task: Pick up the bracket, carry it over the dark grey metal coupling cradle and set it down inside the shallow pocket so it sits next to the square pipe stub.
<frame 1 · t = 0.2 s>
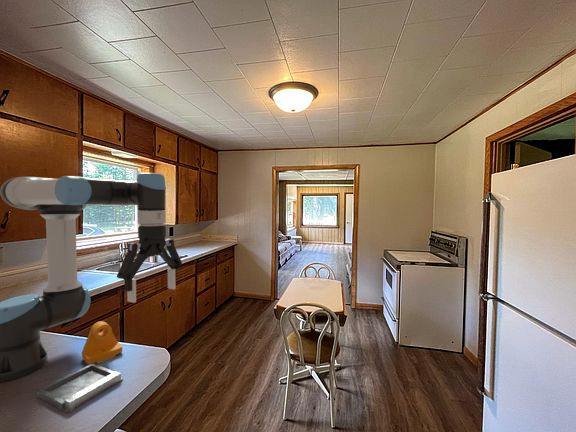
hand: (153, 294, 83), 28 cm above the table, fingers open, 13 cm apart
bracket: (103, 357, 99), on the table
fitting: (80, 387, 82), on the table
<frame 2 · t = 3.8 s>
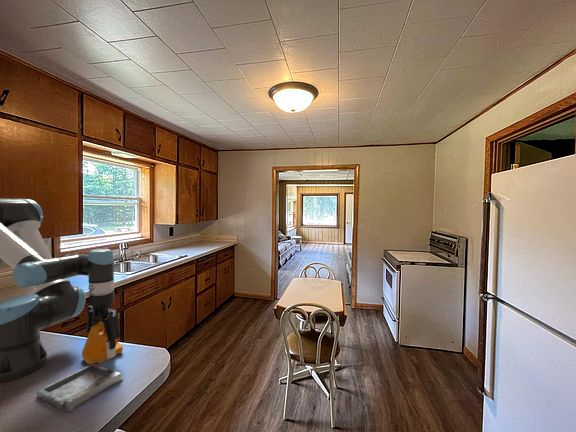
hand: (103, 354, 99), 1 cm above the table, fingers closed on bracket, 8 cm apart
bracket: (103, 357, 99), on the table, touching gripper
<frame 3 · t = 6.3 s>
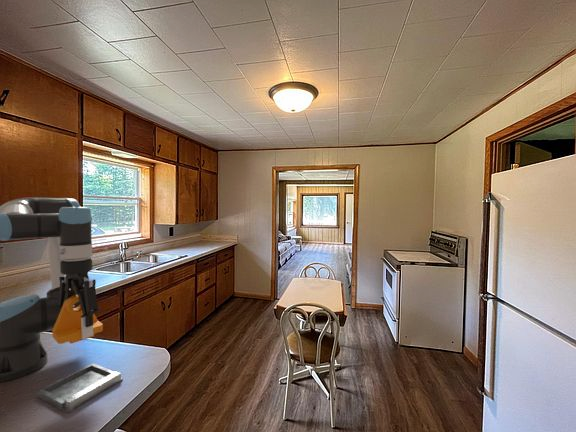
hand: (78, 333, 82), 16 cm above the table, fingers closed on bracket, 8 cm apart
bracket: (78, 337, 82), point 15 cm above the table, touching gripper
when the fingers open (4 cm above the table, at t = 9.0 s): bracket drops 2 cm, resting on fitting.
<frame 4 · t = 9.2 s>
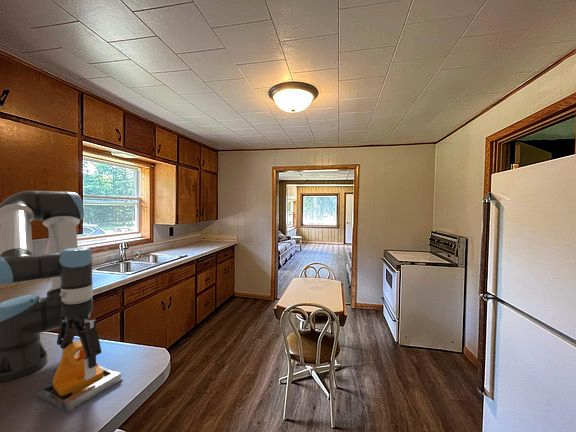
hand: (79, 372, 82), 4 cm above the table, fingers open, 10 cm apart
bracket: (79, 384, 82), point 1 cm above the table, touching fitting
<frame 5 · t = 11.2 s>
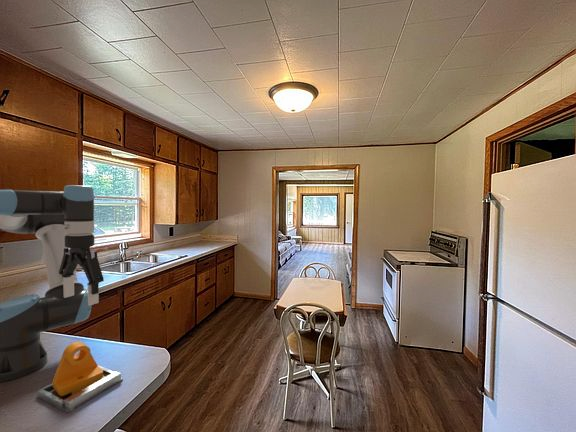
hand: (80, 300, 87), 24 cm above the table, fingers open, 13 cm apart
nothing on the table moved.
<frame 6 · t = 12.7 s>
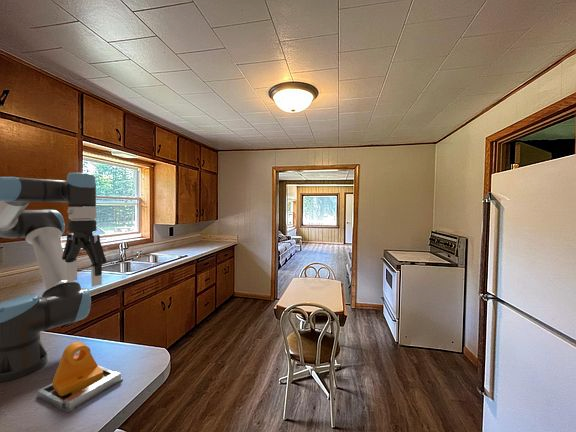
hand: (84, 283, 91), 29 cm above the table, fingers open, 13 cm apart
nothing on the table moved.
at the end: bracket inside the target area on the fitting (0.2 cm from its centre), point 0.4 cm above the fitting's base; the gripper is holding nothing; bracket tilted 0° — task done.
